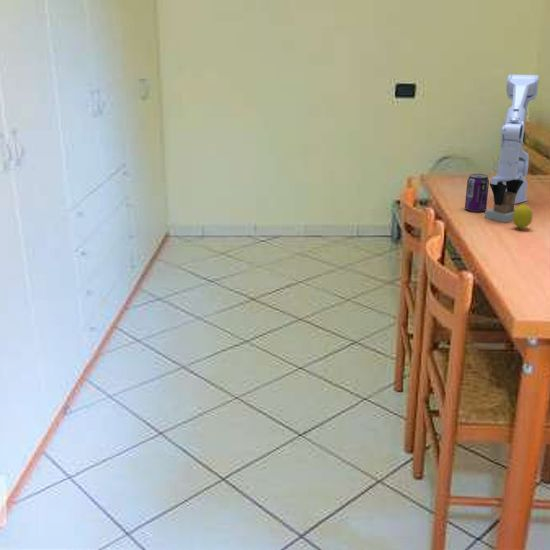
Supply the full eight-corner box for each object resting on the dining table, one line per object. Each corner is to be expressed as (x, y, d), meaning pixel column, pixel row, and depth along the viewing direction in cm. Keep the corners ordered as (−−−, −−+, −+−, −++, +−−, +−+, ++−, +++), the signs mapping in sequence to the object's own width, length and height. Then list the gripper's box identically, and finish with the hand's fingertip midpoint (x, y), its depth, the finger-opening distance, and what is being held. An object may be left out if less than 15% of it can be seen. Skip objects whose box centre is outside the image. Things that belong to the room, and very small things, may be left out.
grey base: (499, 213, 227) (500, 206, 226) (520, 218, 221) (521, 211, 220) (484, 217, 223) (485, 210, 222) (505, 223, 217) (506, 215, 216)
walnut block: (501, 208, 224) (503, 190, 222) (513, 211, 221) (515, 193, 218) (493, 210, 221) (495, 192, 219) (505, 213, 218) (507, 195, 216)
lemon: (530, 227, 212) (533, 202, 209) (530, 232, 207) (533, 206, 204) (511, 225, 214) (514, 201, 211) (511, 230, 209) (514, 205, 206)
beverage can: (486, 213, 228) (490, 178, 224) (465, 212, 229) (468, 177, 225) (485, 207, 234) (488, 173, 230) (464, 207, 236) (467, 172, 232)
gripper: (506, 166, 208) (501, 209, 213) (533, 160, 216) (528, 202, 221) (486, 162, 214) (482, 204, 218) (514, 157, 222) (509, 197, 227)
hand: (504, 203), depth 220 cm, fingers open, 6 cm apart
